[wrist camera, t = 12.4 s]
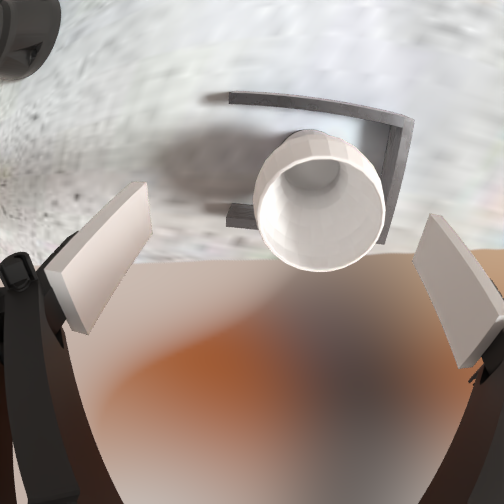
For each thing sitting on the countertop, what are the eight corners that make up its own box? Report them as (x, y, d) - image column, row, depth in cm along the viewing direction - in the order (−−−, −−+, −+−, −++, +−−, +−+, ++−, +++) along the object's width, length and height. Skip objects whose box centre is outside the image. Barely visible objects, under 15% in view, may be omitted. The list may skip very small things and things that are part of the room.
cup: (319, 217, 37) (331, 297, 25) (248, 172, 35) (222, 234, 22) (371, 153, 31) (419, 206, 19) (297, 99, 29) (304, 115, 17)
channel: (232, 211, 38) (226, 226, 35) (236, 90, 29) (229, 92, 26) (376, 228, 37) (384, 244, 33) (401, 114, 28) (414, 119, 25)
